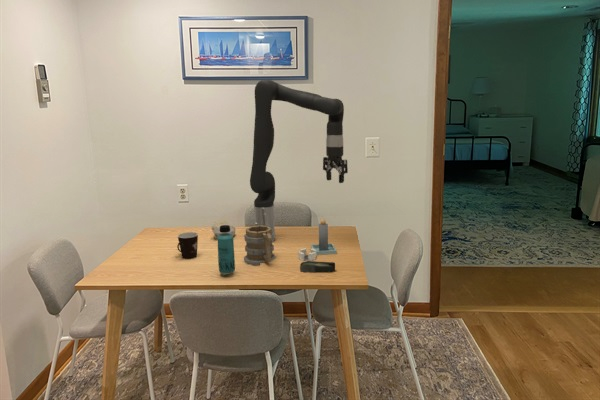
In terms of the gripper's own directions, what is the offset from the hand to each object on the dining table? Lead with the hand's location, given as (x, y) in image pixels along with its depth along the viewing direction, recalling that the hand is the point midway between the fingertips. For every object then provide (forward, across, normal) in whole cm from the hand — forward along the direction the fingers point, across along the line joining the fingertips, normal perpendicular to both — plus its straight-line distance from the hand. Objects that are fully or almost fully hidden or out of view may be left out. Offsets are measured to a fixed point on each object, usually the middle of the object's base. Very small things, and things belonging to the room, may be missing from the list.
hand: (335, 181), depth 210 cm
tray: (+30, +4, -11) cm, 32 cm away
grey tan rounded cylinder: (+29, +4, -10) cm, 31 cm away
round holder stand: (+30, +7, -22) cm, 38 cm away
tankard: (+30, -2, -38) cm, 49 cm away
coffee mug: (+30, -29, -60) cm, 74 cm away
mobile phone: (+30, +21, -28) cm, 47 cm away
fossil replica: (+30, -45, -34) cm, 64 cm away
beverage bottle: (+30, 0, -56) cm, 63 cm away
